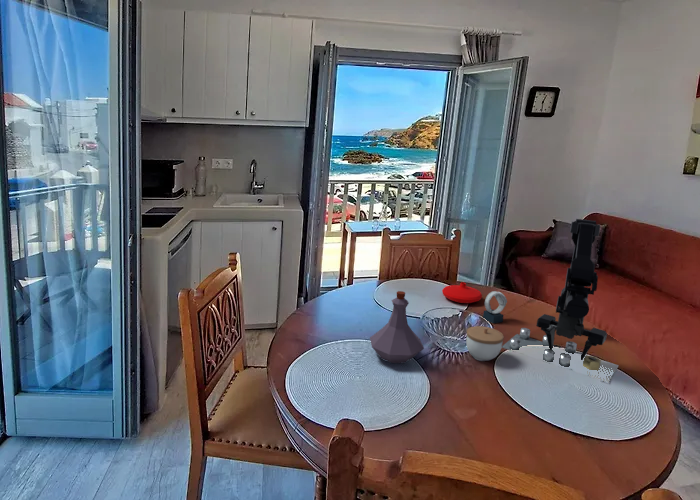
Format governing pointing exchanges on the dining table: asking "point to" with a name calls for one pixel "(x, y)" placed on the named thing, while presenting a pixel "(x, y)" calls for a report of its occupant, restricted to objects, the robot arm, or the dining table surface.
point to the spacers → (548, 353)
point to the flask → (397, 335)
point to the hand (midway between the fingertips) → (566, 354)
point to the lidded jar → (484, 342)
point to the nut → (591, 362)
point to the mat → (536, 342)
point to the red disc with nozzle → (462, 293)
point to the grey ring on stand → (495, 315)
